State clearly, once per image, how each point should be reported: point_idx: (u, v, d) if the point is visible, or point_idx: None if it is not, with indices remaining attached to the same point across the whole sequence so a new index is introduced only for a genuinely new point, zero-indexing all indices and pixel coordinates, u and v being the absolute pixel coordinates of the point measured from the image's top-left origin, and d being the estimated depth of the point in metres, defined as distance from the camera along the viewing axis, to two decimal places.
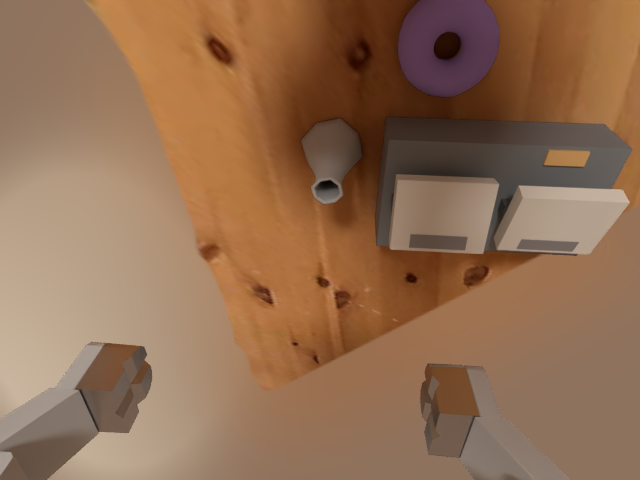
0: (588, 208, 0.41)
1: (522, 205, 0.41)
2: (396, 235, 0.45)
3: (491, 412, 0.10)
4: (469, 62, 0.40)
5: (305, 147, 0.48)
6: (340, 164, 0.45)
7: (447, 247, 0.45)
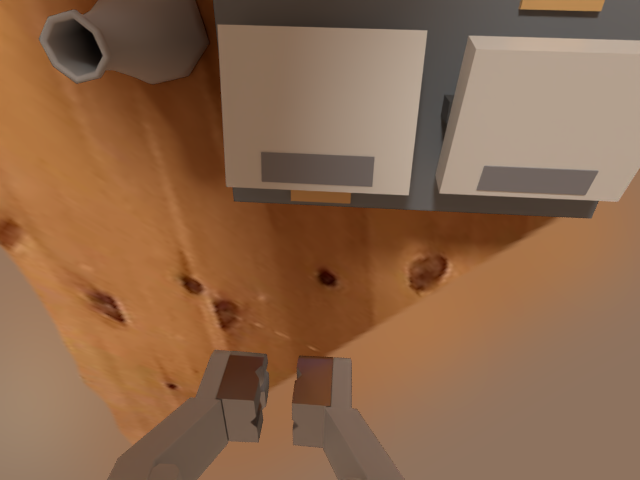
0: (618, 76, 0.19)
1: (477, 71, 0.19)
2: (232, 154, 0.22)
3: (342, 402, 0.10)
4: None
5: None
6: (128, 18, 0.23)
7: (337, 180, 0.22)
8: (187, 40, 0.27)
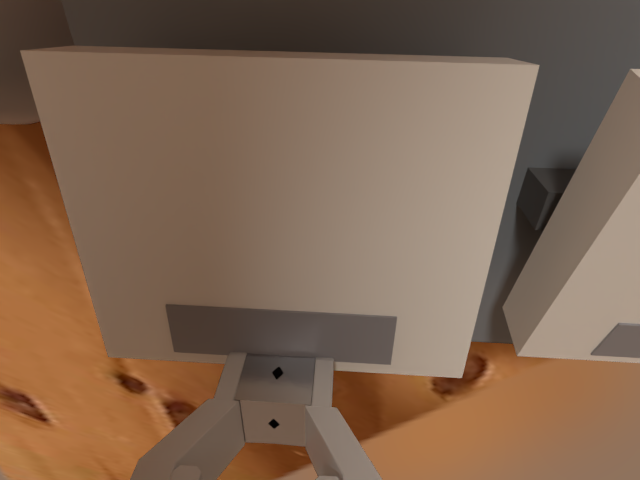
0: None
1: None
2: (110, 308, 0.11)
3: (323, 401, 0.10)
4: None
5: None
6: None
7: (321, 353, 0.11)
8: None
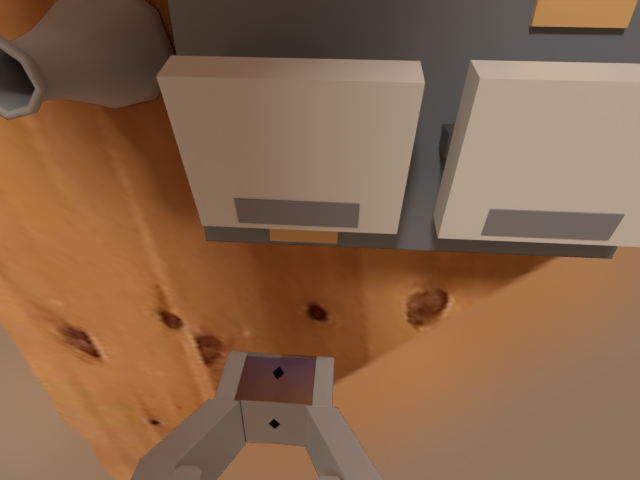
0: None
1: (481, 103, 0.16)
2: (203, 200, 0.20)
3: (323, 401, 0.10)
4: None
5: None
6: (73, 40, 0.20)
7: (319, 222, 0.21)
8: (149, 61, 0.24)
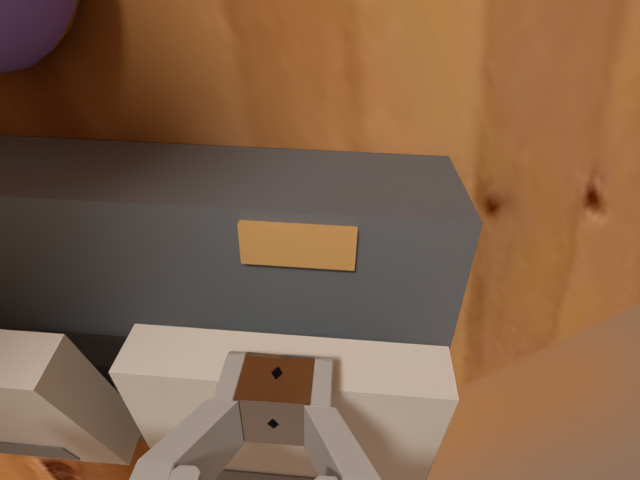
0: None
1: (127, 391, 0.13)
2: None
3: (322, 401, 0.10)
4: None
5: None
6: None
7: (34, 454, 0.18)
8: None
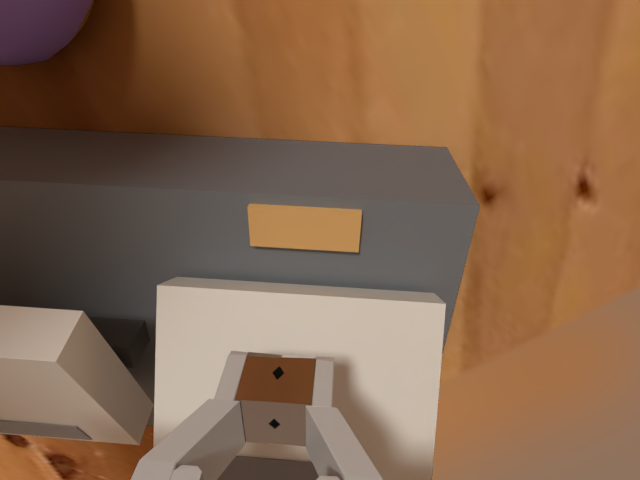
0: (344, 325, 0.14)
1: (164, 312, 0.15)
2: None
3: (323, 401, 0.10)
4: None
5: None
6: None
7: (46, 434, 0.18)
8: None
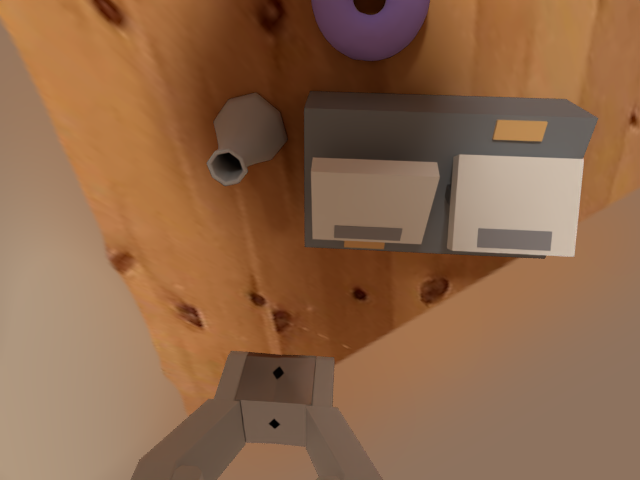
0: (540, 169, 0.34)
1: (462, 166, 0.34)
2: (317, 226, 0.37)
3: (323, 401, 0.10)
4: (395, 13, 0.33)
5: (215, 127, 0.40)
6: (249, 140, 0.37)
7: (379, 238, 0.38)
8: (276, 142, 0.41)
